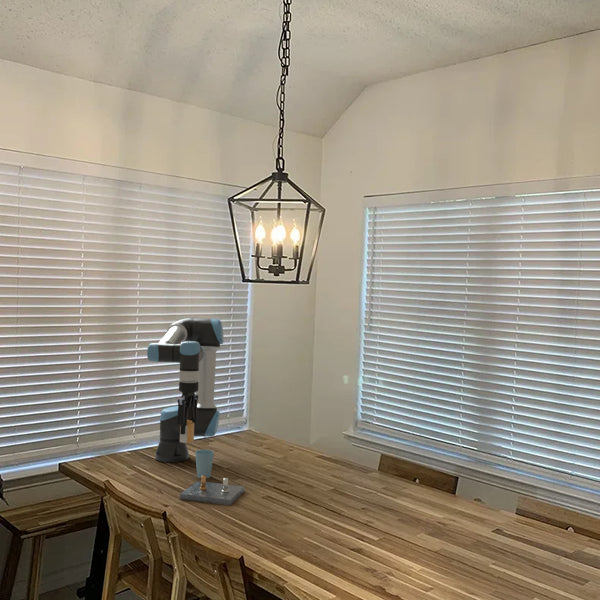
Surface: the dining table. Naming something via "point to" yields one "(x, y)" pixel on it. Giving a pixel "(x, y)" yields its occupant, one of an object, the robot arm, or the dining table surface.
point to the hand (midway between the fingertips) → (186, 440)
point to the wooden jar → (190, 431)
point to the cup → (204, 462)
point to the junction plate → (212, 492)
